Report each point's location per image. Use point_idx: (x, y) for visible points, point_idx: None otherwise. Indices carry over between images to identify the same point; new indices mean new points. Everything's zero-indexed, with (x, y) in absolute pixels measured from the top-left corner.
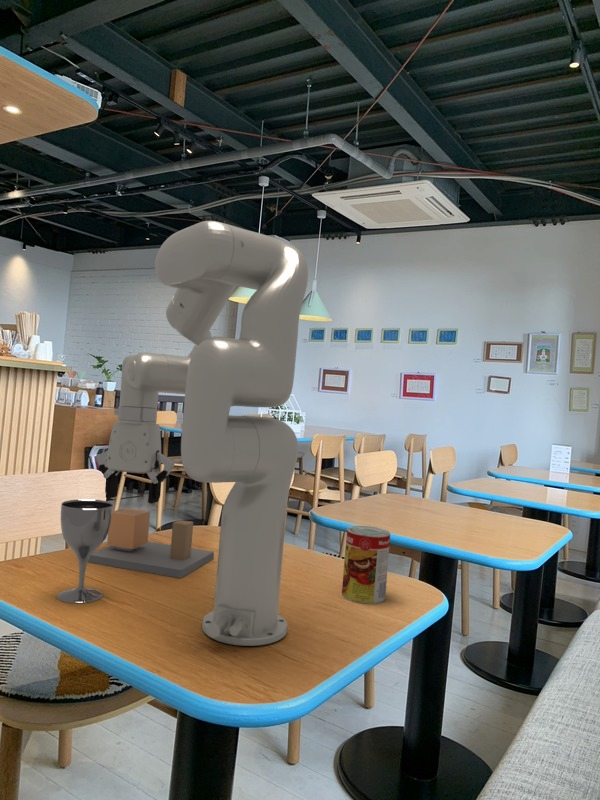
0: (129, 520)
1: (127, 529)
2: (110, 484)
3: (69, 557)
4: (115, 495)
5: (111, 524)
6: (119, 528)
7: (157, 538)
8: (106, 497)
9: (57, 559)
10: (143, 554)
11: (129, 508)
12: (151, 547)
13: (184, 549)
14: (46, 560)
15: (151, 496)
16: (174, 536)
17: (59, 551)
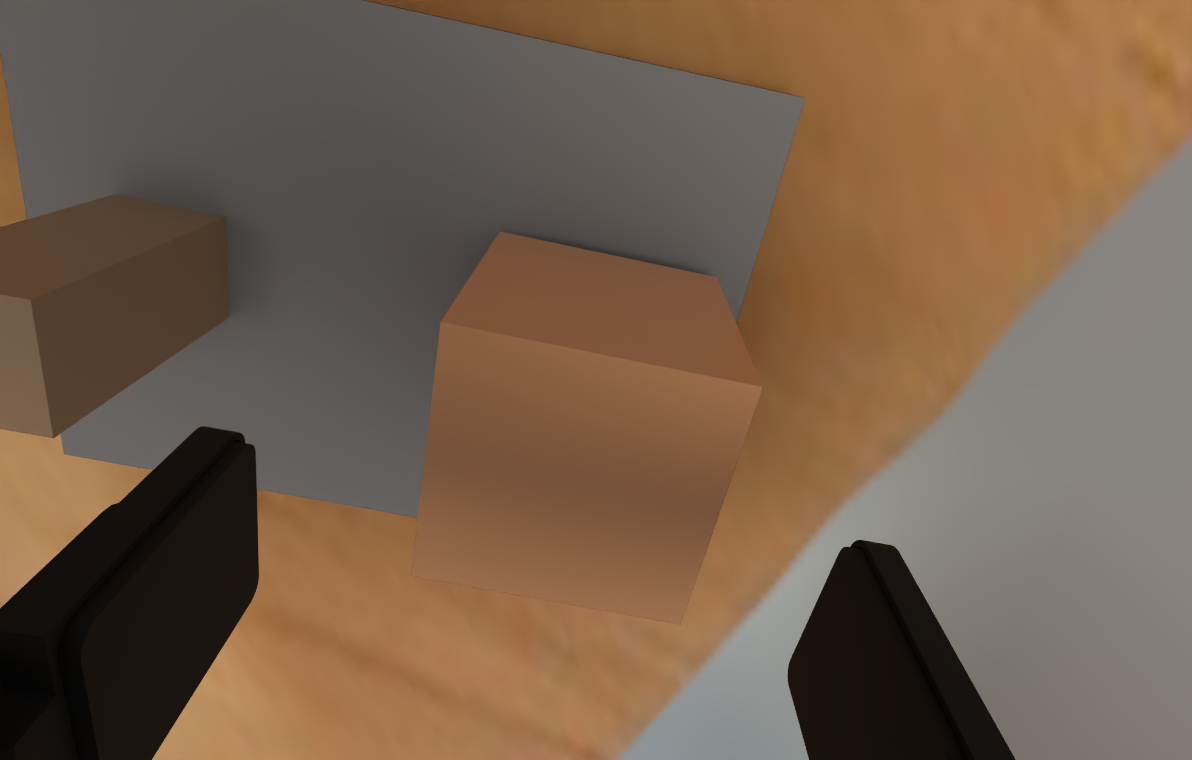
0: (515, 313)
1: (541, 287)
2: (907, 703)
3: (944, 171)
4: (798, 658)
5: (712, 331)
6: (624, 304)
7: (562, 692)
8: (880, 544)
9: (1016, 93)
10: (430, 241)
11: (635, 610)
12: None
13: (59, 211)
14: (1090, 39)
15: (149, 477)
16: (95, 254)
17: (1045, 285)
